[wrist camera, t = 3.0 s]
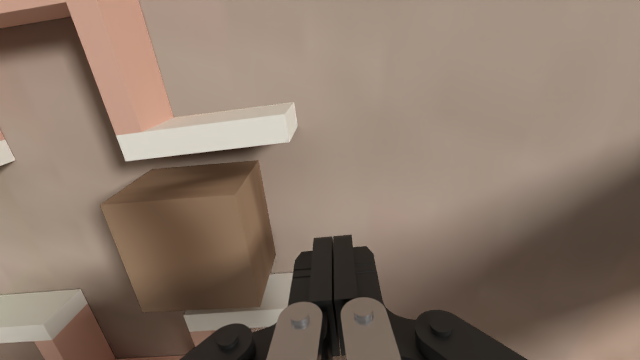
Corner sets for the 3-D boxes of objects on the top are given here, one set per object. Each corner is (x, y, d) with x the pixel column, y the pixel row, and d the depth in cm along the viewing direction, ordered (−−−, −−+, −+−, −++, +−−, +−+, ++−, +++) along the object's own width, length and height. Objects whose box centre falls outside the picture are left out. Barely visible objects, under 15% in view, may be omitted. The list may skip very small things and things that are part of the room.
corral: (269, -50, 14) (251, -73, 11) (336, 359, 23) (335, 403, 20) (-195, 32, 17) (-302, 31, 14) (29, 375, 26) (-9, 415, 23)
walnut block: (258, 159, 18) (235, 194, 14) (276, 252, 20) (260, 306, 16) (153, 168, 19) (100, 205, 14) (181, 258, 21) (142, 312, 17)
